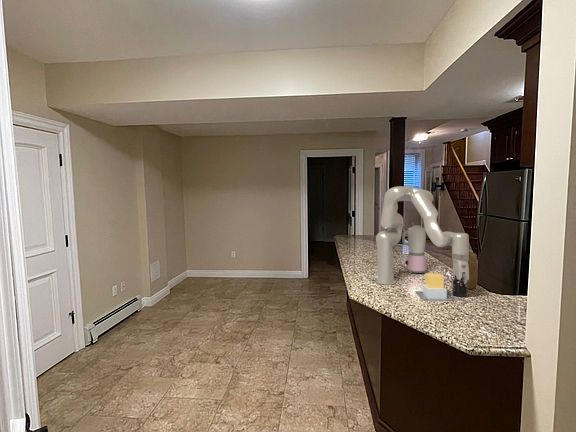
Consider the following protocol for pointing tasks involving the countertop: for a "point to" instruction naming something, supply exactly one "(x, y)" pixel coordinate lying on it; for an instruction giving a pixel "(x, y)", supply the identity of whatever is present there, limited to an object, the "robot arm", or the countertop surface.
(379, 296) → the countertop surface
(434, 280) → the yellow cube
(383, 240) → the robot arm
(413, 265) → the blender
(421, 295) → the building plate
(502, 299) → the countertop surface
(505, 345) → the countertop surface
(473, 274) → the block
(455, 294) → the supplement bottle
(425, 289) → the grey brick
